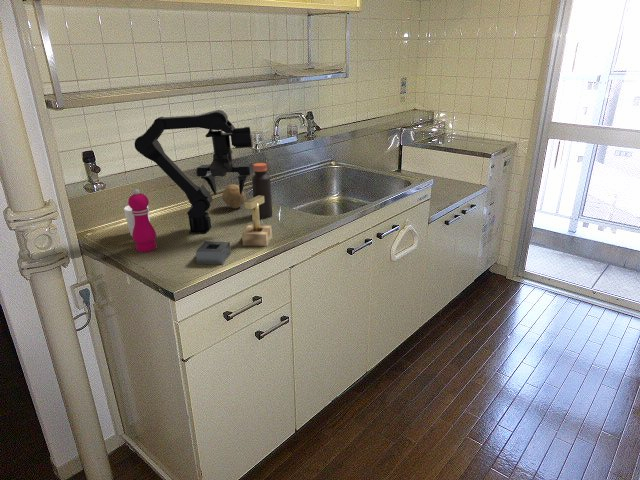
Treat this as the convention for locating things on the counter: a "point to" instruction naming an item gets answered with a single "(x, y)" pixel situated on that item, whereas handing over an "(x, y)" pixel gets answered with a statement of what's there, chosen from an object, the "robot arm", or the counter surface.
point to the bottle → (262, 189)
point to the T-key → (255, 211)
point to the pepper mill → (142, 223)
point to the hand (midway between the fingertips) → (228, 194)
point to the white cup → (131, 218)
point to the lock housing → (213, 252)
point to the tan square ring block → (257, 236)
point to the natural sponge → (233, 196)
